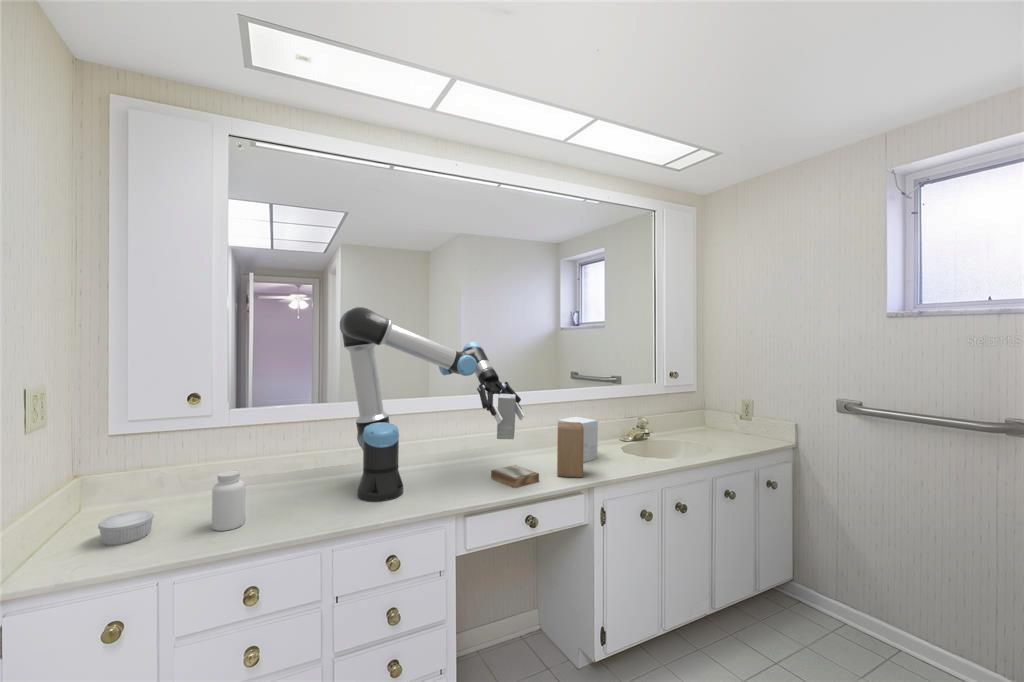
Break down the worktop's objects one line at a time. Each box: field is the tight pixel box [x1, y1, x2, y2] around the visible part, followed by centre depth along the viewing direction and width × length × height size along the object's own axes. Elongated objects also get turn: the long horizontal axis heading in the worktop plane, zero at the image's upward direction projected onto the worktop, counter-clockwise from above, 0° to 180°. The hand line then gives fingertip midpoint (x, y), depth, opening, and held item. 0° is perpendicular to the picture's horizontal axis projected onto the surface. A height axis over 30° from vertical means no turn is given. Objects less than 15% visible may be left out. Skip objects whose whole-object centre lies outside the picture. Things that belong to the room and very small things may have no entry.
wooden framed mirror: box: [490, 464, 540, 489], centre depth 167 cm, size 12×14×3 cm
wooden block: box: [556, 422, 584, 479], centre depth 175 cm, size 10×10×20 cm
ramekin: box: [97, 509, 155, 546], centre depth 117 cm, size 11×11×5 cm
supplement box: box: [556, 416, 599, 464], centre depth 199 cm, size 13×13×18 cm
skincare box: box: [496, 394, 516, 440], centre depth 165 cm, size 8×7×16 cm
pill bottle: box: [211, 470, 247, 532], centre depth 125 cm, size 8×8×15 cm
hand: (511, 419), depth 163 cm, fingers closed on skincare box, 10 cm apart
